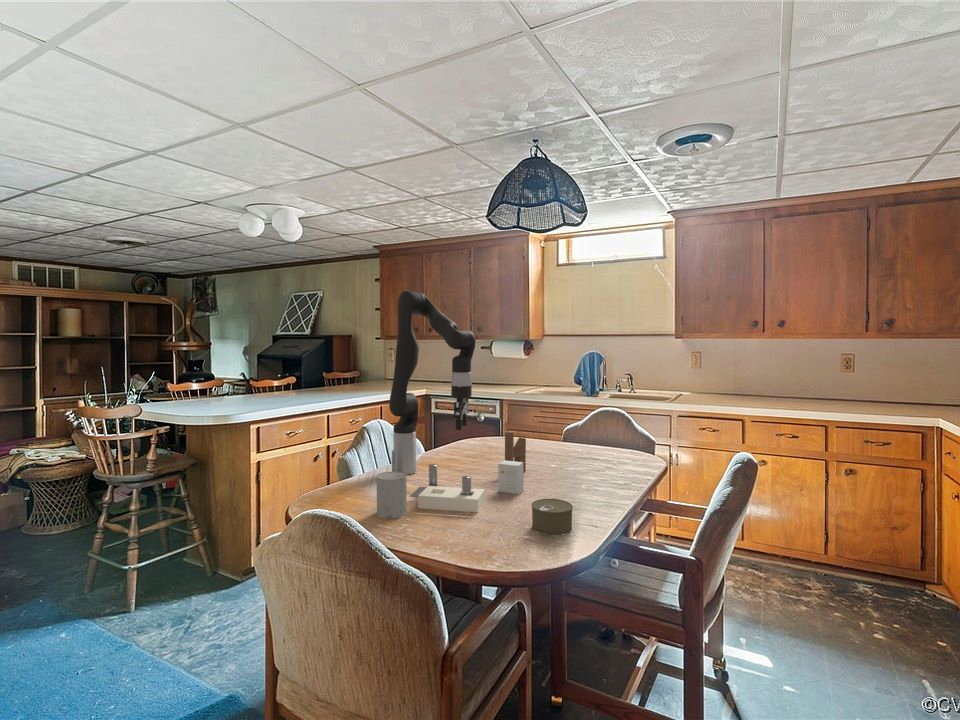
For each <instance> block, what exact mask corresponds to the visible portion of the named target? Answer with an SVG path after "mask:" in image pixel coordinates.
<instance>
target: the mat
mask: <svg viewBox="0 0 960 720" xmlns="http://www.w3.org/2000/svg"><path fill="white" fill-rule="evenodd" d="M427 487H428V486H419V487H418V488H416V490H415V491H413V492H412V493H411V495H409V496H408V497H409V498H418V495H419V494H420V493H421V492H422V491H424V490H425V489H426V488H427Z"/></svg>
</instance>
